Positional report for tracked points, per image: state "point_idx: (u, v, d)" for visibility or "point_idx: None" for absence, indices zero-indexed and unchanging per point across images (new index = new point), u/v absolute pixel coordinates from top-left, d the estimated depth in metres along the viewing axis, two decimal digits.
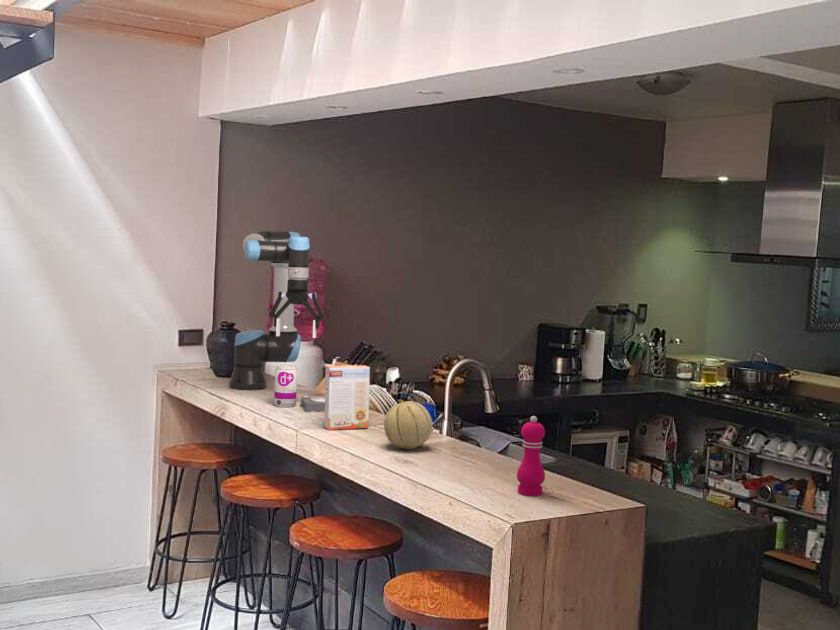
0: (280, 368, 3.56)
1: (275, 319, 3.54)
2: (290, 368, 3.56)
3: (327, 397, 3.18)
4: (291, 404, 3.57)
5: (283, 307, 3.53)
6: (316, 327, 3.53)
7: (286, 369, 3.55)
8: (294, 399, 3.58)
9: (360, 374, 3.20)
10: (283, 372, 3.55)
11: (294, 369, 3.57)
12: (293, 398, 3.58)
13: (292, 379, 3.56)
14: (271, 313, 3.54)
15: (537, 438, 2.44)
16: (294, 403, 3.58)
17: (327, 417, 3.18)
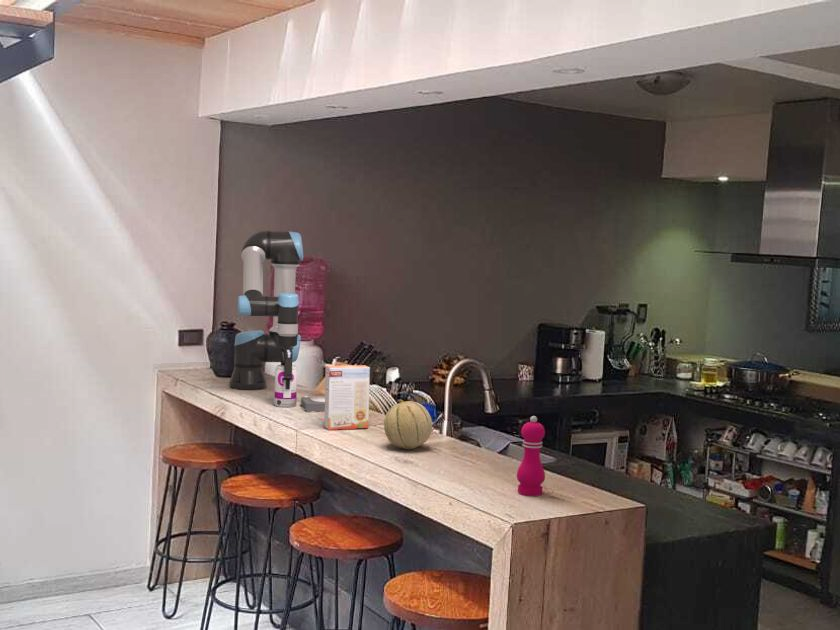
0: (280, 368, 3.56)
1: None
2: None
3: (327, 397, 3.18)
4: (291, 404, 3.57)
5: (282, 364, 3.62)
6: (285, 387, 3.54)
7: None
8: (294, 399, 3.58)
9: (360, 374, 3.20)
10: (283, 372, 3.55)
11: (294, 369, 3.57)
12: (293, 398, 3.58)
13: (292, 379, 3.56)
14: None
15: (537, 438, 2.44)
16: (294, 403, 3.58)
17: (327, 417, 3.18)
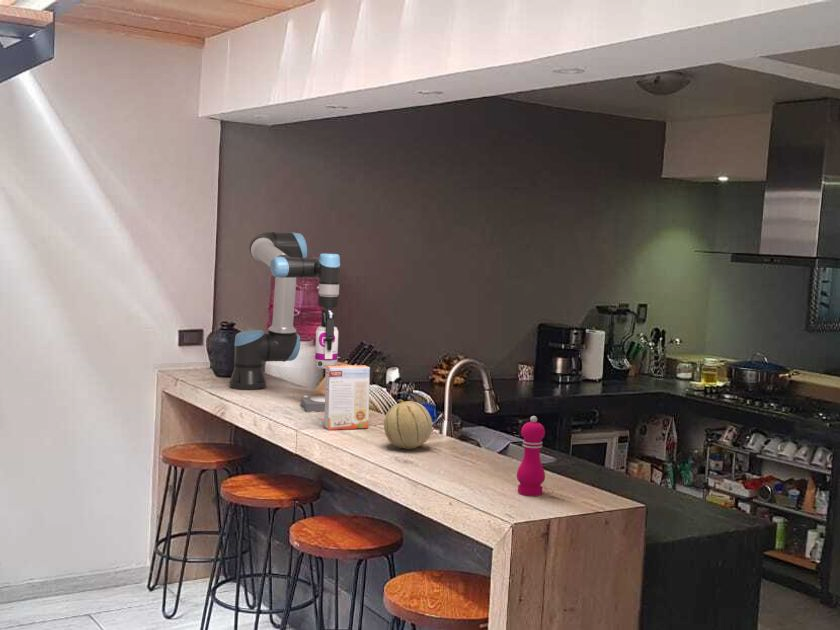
0: (321, 329, 3.52)
1: None
2: None
3: (327, 397, 3.18)
4: (332, 365, 3.54)
5: (322, 325, 3.59)
6: (327, 348, 3.51)
7: None
8: (335, 360, 3.55)
9: (360, 374, 3.20)
10: (324, 333, 3.52)
11: (335, 330, 3.54)
12: (334, 360, 3.54)
13: (333, 340, 3.53)
14: None
15: (537, 438, 2.44)
16: (335, 364, 3.55)
17: (327, 417, 3.18)
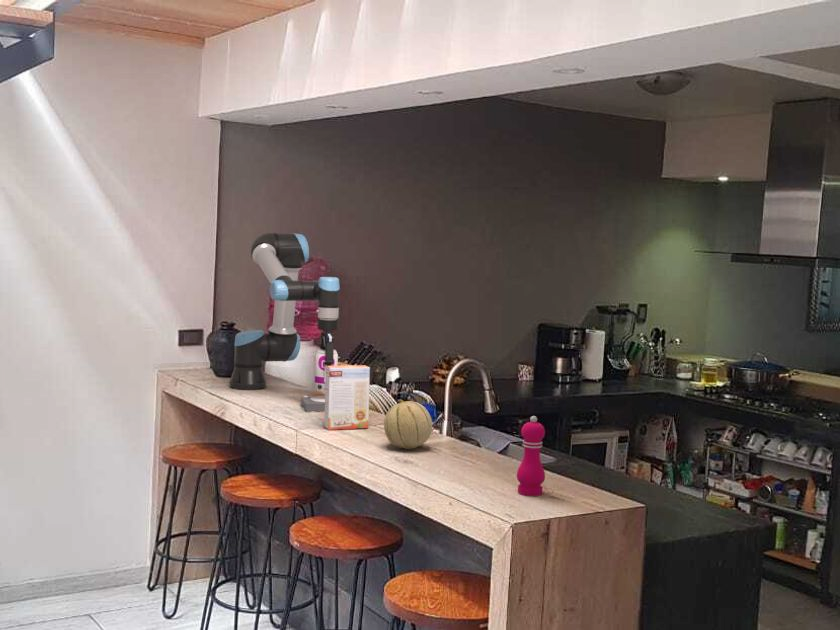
0: (321, 352, 3.53)
1: None
2: None
3: (327, 397, 3.18)
4: None
5: (322, 348, 3.59)
6: None
7: None
8: None
9: (360, 374, 3.20)
10: (324, 356, 3.52)
11: (335, 353, 3.54)
12: None
13: (333, 363, 3.54)
14: None
15: (537, 438, 2.44)
16: None
17: (327, 417, 3.18)
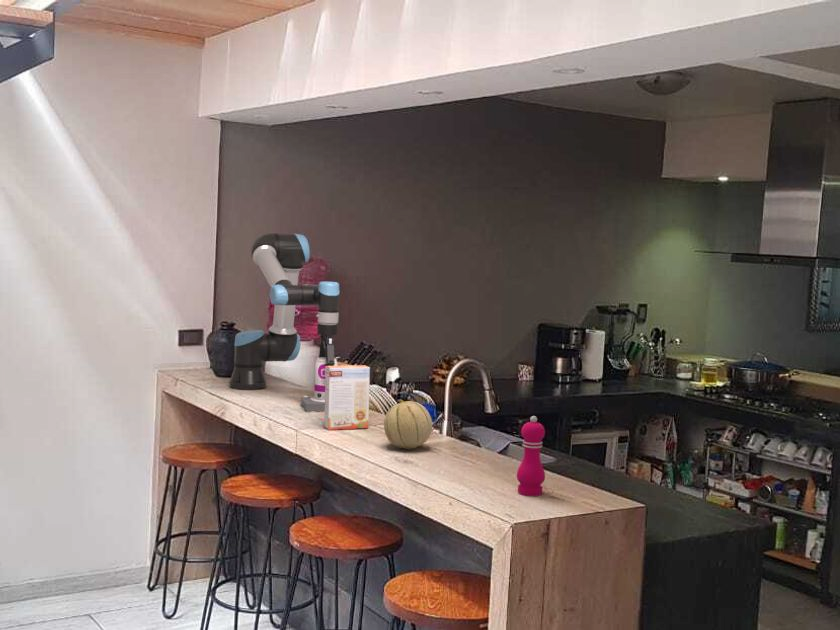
0: (320, 361, 3.53)
1: None
2: None
3: (327, 397, 3.18)
4: None
5: (321, 350, 3.61)
6: None
7: None
8: None
9: (360, 374, 3.20)
10: (324, 365, 3.53)
11: None
12: None
13: None
14: (319, 355, 3.65)
15: (537, 438, 2.44)
16: None
17: (327, 417, 3.18)
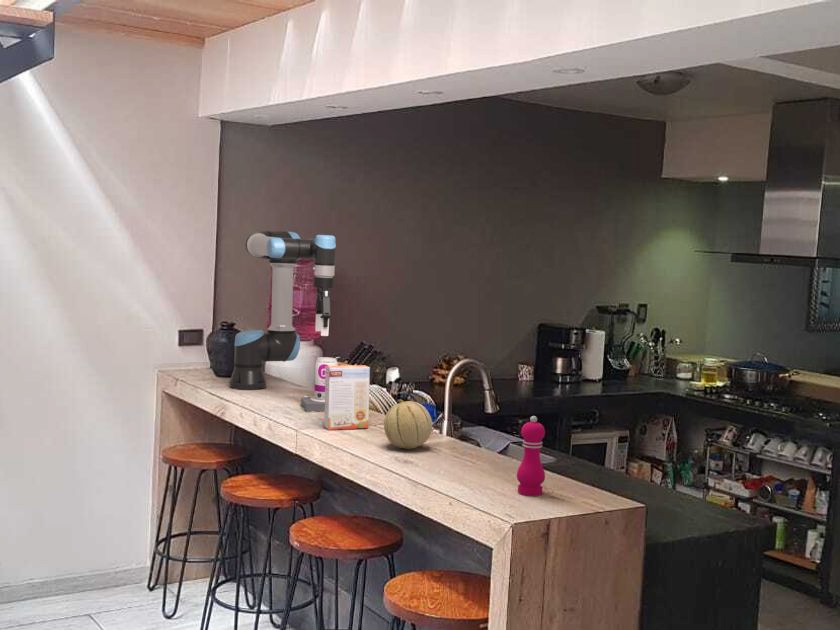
0: (321, 361, 3.53)
1: None
2: (331, 361, 3.53)
3: (327, 397, 3.18)
4: None
5: (317, 303, 3.64)
6: (323, 325, 3.53)
7: (326, 362, 3.53)
8: None
9: (360, 374, 3.20)
10: (324, 365, 3.53)
11: (335, 362, 3.55)
12: None
13: None
14: (315, 308, 3.69)
15: (537, 438, 2.44)
16: None
17: (327, 417, 3.18)
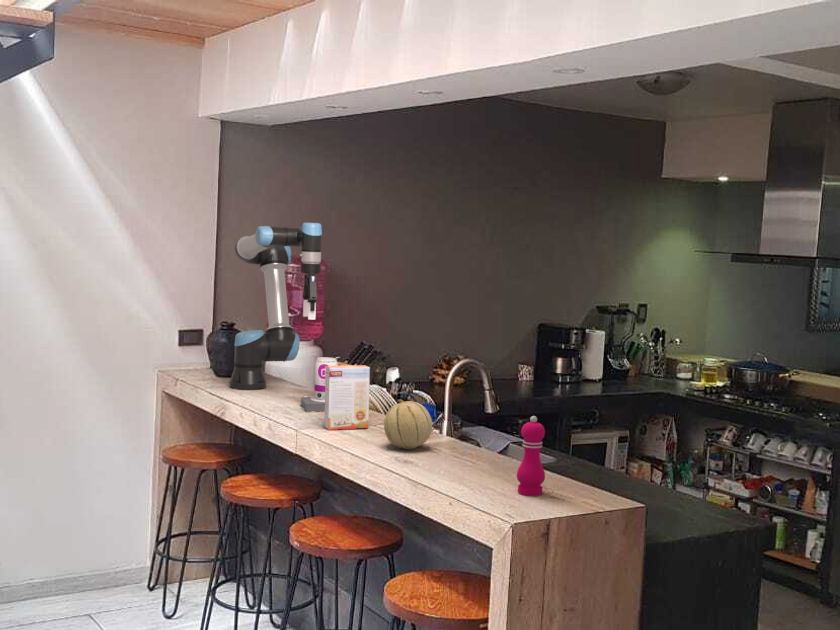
0: (321, 361, 3.53)
1: None
2: (331, 361, 3.54)
3: (327, 397, 3.18)
4: None
5: (305, 289, 3.77)
6: (310, 309, 3.66)
7: (326, 362, 3.53)
8: None
9: (360, 374, 3.20)
10: (324, 365, 3.53)
11: (334, 362, 3.55)
12: None
13: None
14: (303, 295, 3.82)
15: (537, 438, 2.44)
16: None
17: (327, 417, 3.18)
